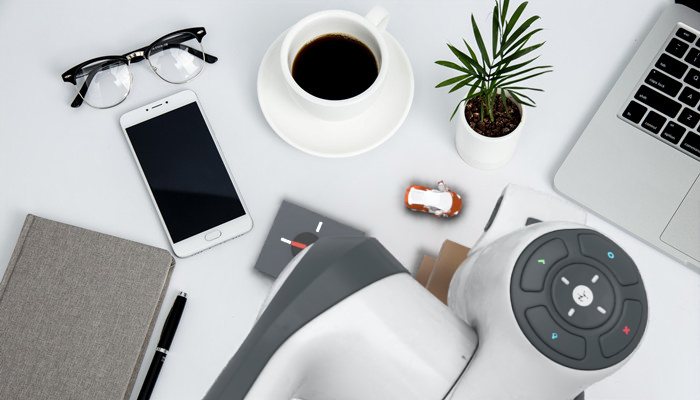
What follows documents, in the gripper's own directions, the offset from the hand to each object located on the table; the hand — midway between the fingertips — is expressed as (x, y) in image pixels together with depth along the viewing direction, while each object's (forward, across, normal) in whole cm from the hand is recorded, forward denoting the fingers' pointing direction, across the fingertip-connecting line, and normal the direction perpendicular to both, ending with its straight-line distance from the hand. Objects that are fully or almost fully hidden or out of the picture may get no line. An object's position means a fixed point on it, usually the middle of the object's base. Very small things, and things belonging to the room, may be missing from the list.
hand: (478, 305), depth 59 cm
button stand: (+25, 0, 0) cm, 25 cm away
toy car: (+25, +13, +7) cm, 29 cm away
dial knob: (+22, 0, +20) cm, 30 cm away
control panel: (+25, 0, +20) cm, 32 cm away
